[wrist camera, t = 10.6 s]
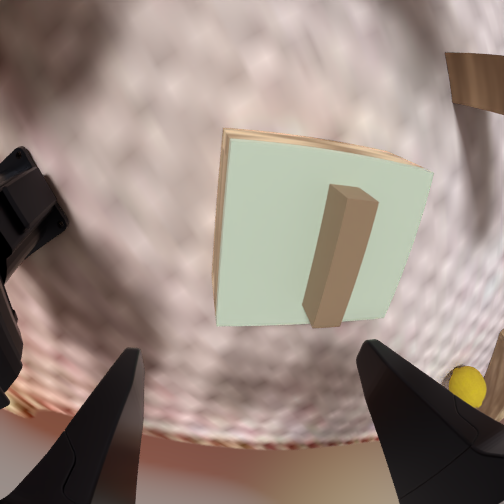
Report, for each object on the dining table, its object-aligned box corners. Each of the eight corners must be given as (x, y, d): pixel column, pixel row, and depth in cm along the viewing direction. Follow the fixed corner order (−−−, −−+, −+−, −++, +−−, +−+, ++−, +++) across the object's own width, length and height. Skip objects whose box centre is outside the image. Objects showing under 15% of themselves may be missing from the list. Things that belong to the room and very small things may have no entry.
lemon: (439, 371, 35) (466, 412, 28) (468, 349, 35) (497, 387, 28) (440, 385, 38) (463, 423, 31) (467, 366, 37) (492, 401, 30)
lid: (215, 317, 18) (219, 352, 15) (229, 138, 13) (236, 149, 11) (378, 310, 20) (397, 337, 17) (425, 168, 15) (457, 184, 13)
